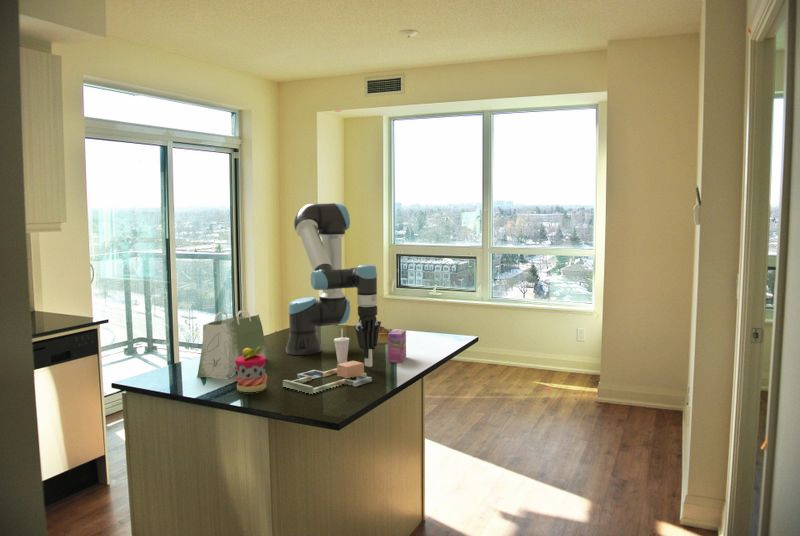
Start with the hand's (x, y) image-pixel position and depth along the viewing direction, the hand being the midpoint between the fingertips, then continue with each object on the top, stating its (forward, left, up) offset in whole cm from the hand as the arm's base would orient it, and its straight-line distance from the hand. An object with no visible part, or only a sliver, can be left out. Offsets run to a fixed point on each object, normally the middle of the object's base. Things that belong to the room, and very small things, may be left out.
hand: (368, 365), depth 236 cm
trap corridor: (0, -22, -1) cm, 22 cm away
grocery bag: (-45, -30, -2) cm, 54 cm away
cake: (-15, -44, -2) cm, 46 cm away
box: (-2, +19, -2) cm, 19 cm away
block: (0, -10, -2) cm, 10 cm away
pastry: (-34, +44, -2) cm, 55 cm away
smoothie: (-17, +2, -2) cm, 17 cm away
